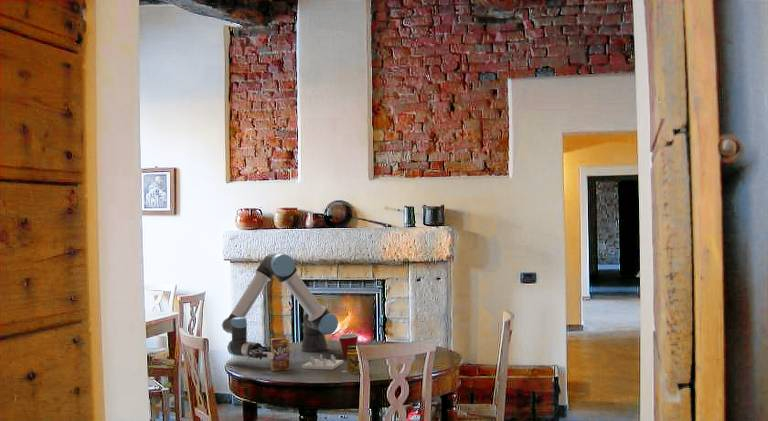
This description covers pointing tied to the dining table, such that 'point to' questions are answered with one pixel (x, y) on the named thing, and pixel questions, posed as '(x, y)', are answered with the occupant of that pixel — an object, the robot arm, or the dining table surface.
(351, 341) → the plastic cup
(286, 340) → the candy box
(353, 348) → the condiment
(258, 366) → the dining table surface
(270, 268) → the robot arm
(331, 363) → the caddy tray
